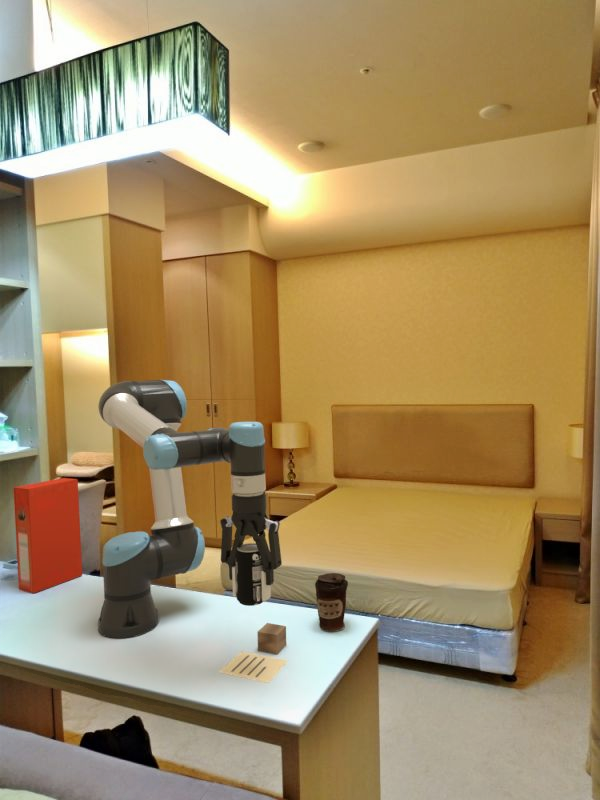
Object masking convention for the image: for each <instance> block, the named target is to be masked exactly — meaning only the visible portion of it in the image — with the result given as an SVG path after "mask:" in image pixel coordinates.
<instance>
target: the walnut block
mask: <svg viewBox="0 0 600 800" xmlns="http://www.w3.org/2000/svg"><path fill="white" fill-rule="evenodd" d="M286 646H287V626H286V625H280V624H275V623H270V622H267V623H266V624H264V625H263V626H262V627H261V628H260V629H259V630H257V651H258V652H262V653H267V654H272V655H278V654H280V652H281V651H283V649H284V648H285V647H286Z"/></svg>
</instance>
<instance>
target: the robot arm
mask: <svg viewBox="0 0 600 800" xmlns="http://www.w3.org/2000/svg"><path fill="white" fill-rule="evenodd" d="M187 402H188V401H187V398H186V394H185V392H184V390H183V388H182V387H181V386H180V384H179V383H177V381H174V380H166V379H154V380H153V379H152V380H151V379H149V380H125V381H124V380H123V381H118V382H116V383H113V384H112V385H111V386H109V387H108V388H106V389H105V390H104V392H102V394H101V396H100V398H99V401H98V413H99V415H100V418H101V419H102V420H103V422H105V424H107V425H108V426H109V427H112V428H114V429H117V430H118V429H119V430H120V431H121V432H123V433H124V434H126V435H127V436H128V437H129V438H130V439H131V440H133V441H134V442H135V443H136V444H138V445H139V446H140V447H141V448H142V452H143V453H142V454H143V458H144V461H145V462H146V466H147V467H148V468H149V476H150V485H151V486H150V487H151V492H152V504H153V509H154V518H155V521H154V523H153V524H152V526H151V527H150V535H149V533H147V532H146V531H138V530H137V531H134V532H132V531H130V532H129V531H128V532H126V533H121V534H119V535H116V536H113V537H112V538H110V539H109V540H108V541H107V542H106V543H105V544H104V545H103V549H102V559H101V562H102V571H103V591H104V594H103V596H104V600H103V604H102V606H101V610H100V615H99V617H98V620H97V621H98V622H97V626H98V632H99V634H100V635H102V636H104V637H107V638H112V639H113V638H114V639H124V638H125V639H126V638H132V637H137V636H140V635H143V634H146V633H148V632H150V631H152V630H153V629H155V628H156V627H157V626H158V624H159V622H160V620H159V619H160V618H159V617H160V616H159V611H158V609H157V607H156V604H155V602H154V599H153V595H152V592H151V591H152V589H151V588H152V587H151V586H152V585H151V583H152V581H156V580H161V579H164V578H168V577H169V578H170V577H172V576H176V575H181V574H182V575H183V574H186V573H188V572H191V571H194V570H196V569H198V568H199V567H200V566H201V564H202V562H203V560H204V556H205V551H206V550H205V549H206V548H205V547H206V544H205V542H206V541H205V536H204V534H203V532H202V530H201V529H200V527H197V526H195V523H194V520H192V519H191V518H190V517H189V516H188V512H187V505H186V497H185V489H184V482H183V481H184V480H183V474H182V473H183V472H182V468H183V467H189V466H196V465H197V466H198V465H206V464H207V465H208V464H213V463H228V464H229V465H230V484H231V485H230V486H231V487H230V488H231V489H230V490H231V493H232V495H231V510H232V515H231V516H226V517H224V518H221V519H220V526H221V530H222V531H221V546H220V547H221V548H220V549H221V550H220V562H221V563H222V564H224V563H225V564H227V566H228V572H229V573H228V574H229V575H228V576H229V577H228V578H229V580H230V581H232V597H235V598H237V591H236V560H235V554H236V552H237V547H241V545H243V544H244V541H245V539H246V536H248V537H252V539H253V542H255V543H256V545H257V548H258V551H259V554H260V557H261V560H262V563H263V566H264V570H262V571H261V581H262V601H264V602H266V601H267V600H269V599H270V598H271V597H272V591H271V586H272V585H273V584H274V581H275V579H274V577H275V576H274V575H275V574H274V571H275V570H276V569H278V568H279V567H280V566H282V562H283V561H282V554H281V544H280V536H279V529H280V525H281V524H280V521H279V520H275V521H273V520H270V519H269V518H268V515H267V494H266V493H265V492H266V490H267V486H266V485H267V483H266V482H267V481H266V449H265V448H266V438H265V431H264V425H263V424H262V423H261V422H260V421H237V422H231V424H230V425H229V429H227V428H224V427H214V428H213V427H212V428H209V429H207V430H205V429H204V430H196V431H194V430H193V431H184V432H183V431H182V432H178V430H179V428H180V427H181V426H182V423H181V422H182V420H183V419H185V417H186V414H187V409H188V403H187ZM233 525H234V526H235V533H234V536H233ZM265 527H266V531H268V532H267V535H268V536H267V537H268V542H267V539H266V532H265ZM233 537H234V539H233ZM232 542H233V543H232Z"/></svg>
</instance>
